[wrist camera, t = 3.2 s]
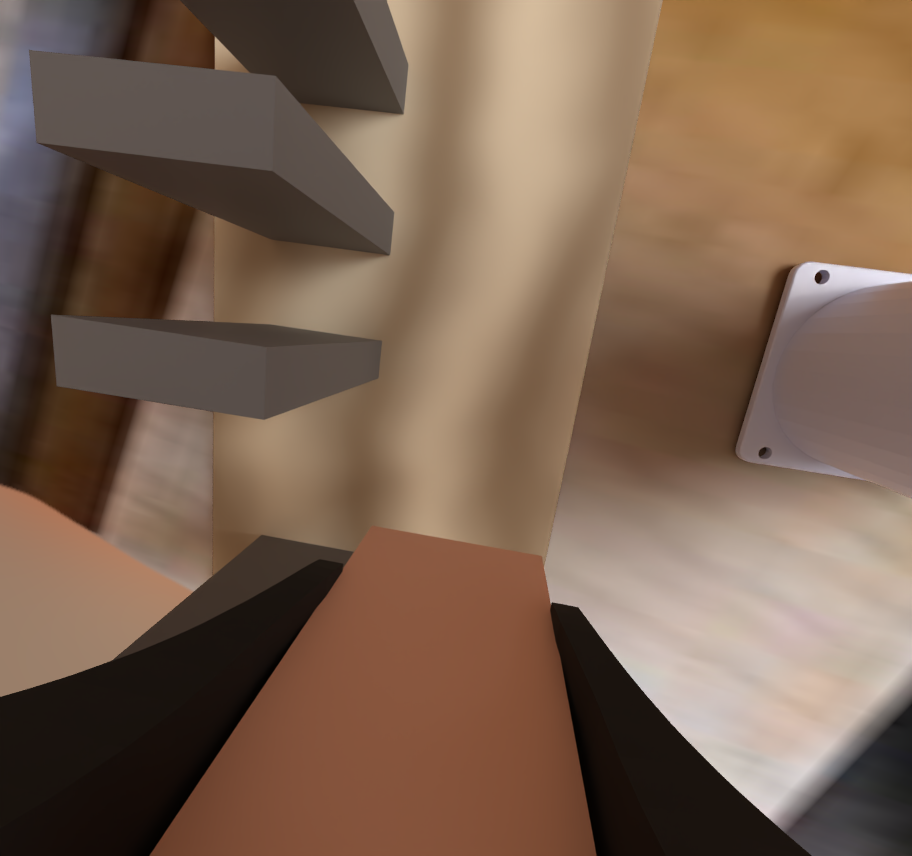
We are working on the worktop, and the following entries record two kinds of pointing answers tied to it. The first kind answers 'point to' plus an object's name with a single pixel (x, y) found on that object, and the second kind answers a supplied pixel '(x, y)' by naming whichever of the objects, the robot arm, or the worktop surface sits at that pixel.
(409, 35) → the birch board
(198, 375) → the domino
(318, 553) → the end domino
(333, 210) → the domino
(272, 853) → the domino
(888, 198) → the worktop surface
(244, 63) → the domino
